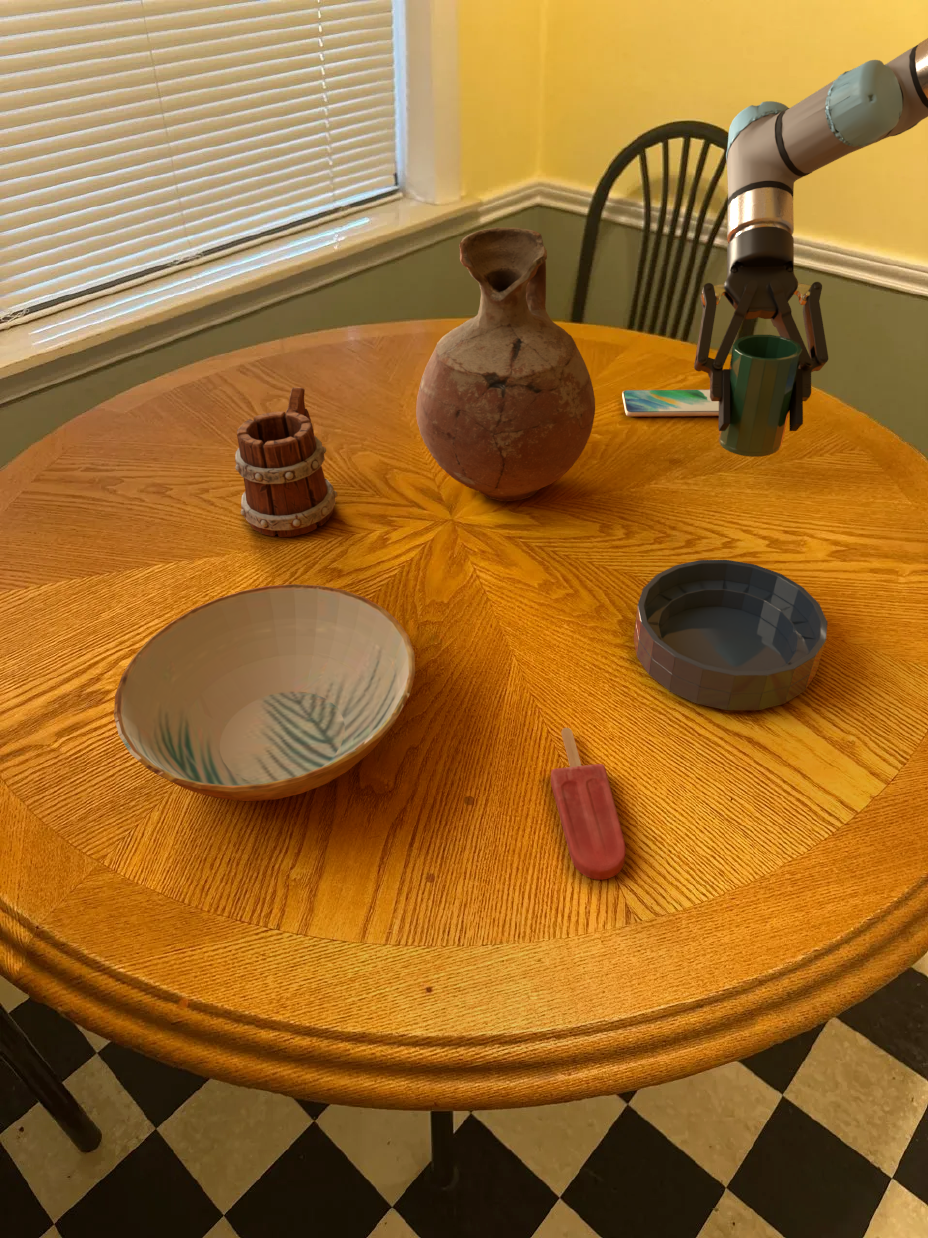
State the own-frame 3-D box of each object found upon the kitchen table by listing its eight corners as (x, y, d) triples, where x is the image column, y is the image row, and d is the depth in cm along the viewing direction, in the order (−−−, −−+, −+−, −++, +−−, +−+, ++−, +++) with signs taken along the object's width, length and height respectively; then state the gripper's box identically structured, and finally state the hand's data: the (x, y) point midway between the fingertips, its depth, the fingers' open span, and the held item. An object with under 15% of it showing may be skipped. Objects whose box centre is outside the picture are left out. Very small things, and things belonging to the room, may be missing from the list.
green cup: (760, 424, 109) (778, 330, 101) (793, 450, 103) (815, 353, 96) (707, 433, 107) (721, 339, 100) (738, 461, 102) (755, 363, 94)
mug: (223, 538, 103) (204, 415, 95) (269, 495, 115) (255, 382, 107) (317, 546, 101) (305, 420, 93) (353, 501, 113) (345, 386, 105)
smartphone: (732, 411, 122) (626, 412, 123) (731, 417, 123) (625, 417, 123) (724, 388, 127) (621, 389, 128) (723, 394, 128) (621, 394, 129)
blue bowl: (754, 584, 93) (763, 546, 90) (852, 691, 80) (866, 651, 77) (606, 616, 89) (610, 578, 86) (683, 733, 77) (691, 693, 73)
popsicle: (590, 718, 76) (635, 865, 64) (589, 732, 77) (632, 878, 66) (540, 724, 76) (575, 872, 64) (539, 737, 77) (574, 885, 65)
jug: (399, 516, 106) (374, 263, 87) (448, 434, 122) (437, 206, 102) (574, 538, 101) (589, 275, 82) (601, 450, 117) (620, 213, 97)
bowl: (450, 662, 85) (446, 599, 80) (373, 880, 66) (361, 815, 61) (217, 632, 90) (199, 570, 85) (83, 826, 71) (50, 762, 66)
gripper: (837, 255, 105) (839, 437, 103) (668, 257, 107) (666, 436, 105) (860, 220, 98) (862, 416, 96) (677, 224, 100) (676, 416, 97)
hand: (760, 426), depth 100 cm, fingers closed on green cup, 7 cm apart
